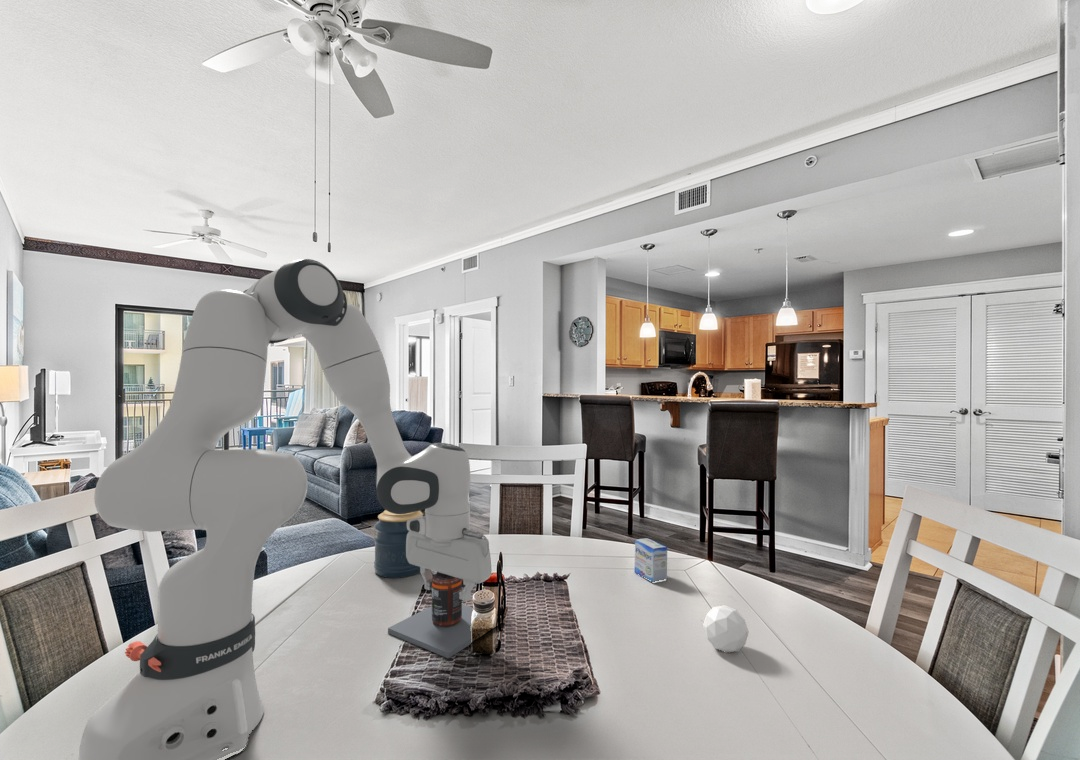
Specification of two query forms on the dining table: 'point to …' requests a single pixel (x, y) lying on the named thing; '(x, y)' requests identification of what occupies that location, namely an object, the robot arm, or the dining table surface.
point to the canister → (393, 545)
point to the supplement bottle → (446, 599)
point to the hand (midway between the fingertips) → (447, 594)
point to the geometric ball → (725, 628)
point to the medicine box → (650, 559)
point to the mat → (435, 632)
